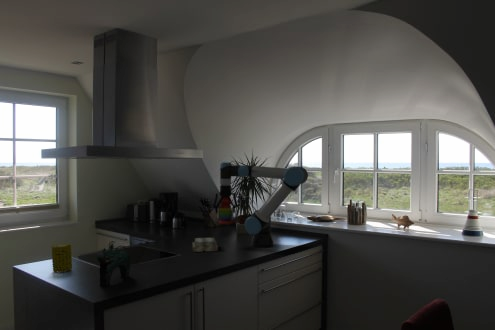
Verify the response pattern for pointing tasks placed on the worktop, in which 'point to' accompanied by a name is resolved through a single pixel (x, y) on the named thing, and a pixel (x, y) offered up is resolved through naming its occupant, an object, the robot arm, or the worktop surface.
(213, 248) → the plinth
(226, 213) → the stacking bear
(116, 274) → the worktop surface
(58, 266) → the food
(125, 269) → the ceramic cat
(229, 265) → the worktop surface
